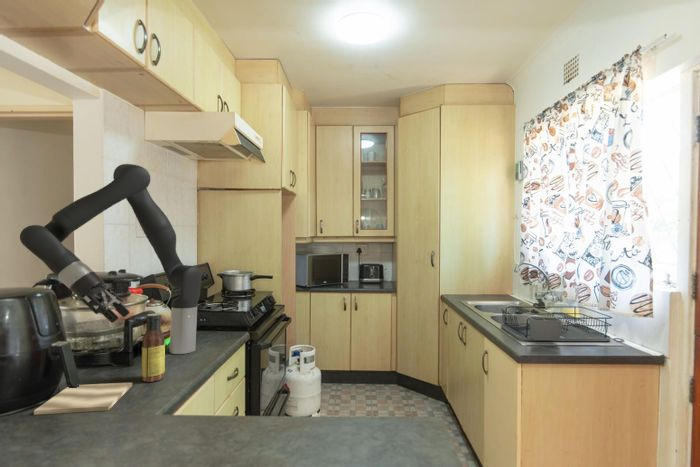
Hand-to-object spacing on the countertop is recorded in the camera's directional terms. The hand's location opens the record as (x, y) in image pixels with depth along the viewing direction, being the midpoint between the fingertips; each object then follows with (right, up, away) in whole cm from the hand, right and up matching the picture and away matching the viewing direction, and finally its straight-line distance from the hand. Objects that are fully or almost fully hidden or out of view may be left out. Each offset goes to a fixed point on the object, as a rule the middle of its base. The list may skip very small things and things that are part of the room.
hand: (121, 317), depth 111 cm
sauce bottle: (+9, -20, +1) cm, 21 cm away
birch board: (0, -18, -14) cm, 23 cm away
